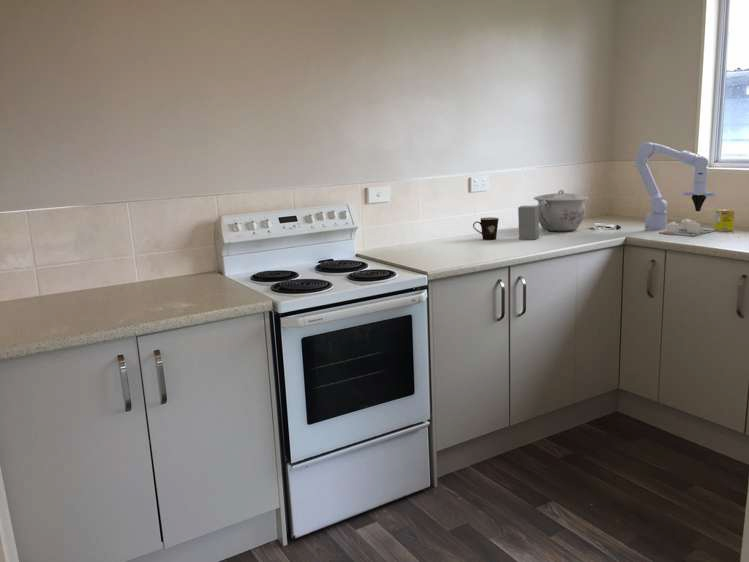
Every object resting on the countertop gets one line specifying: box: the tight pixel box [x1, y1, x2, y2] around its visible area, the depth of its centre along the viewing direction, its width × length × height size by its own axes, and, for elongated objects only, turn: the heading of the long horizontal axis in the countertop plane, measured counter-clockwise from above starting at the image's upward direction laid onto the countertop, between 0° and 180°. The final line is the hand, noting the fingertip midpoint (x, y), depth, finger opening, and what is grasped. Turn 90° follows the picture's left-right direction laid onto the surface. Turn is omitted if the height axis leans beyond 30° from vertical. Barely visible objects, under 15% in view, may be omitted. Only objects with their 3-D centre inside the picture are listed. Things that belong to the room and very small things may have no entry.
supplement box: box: [714, 209, 735, 232], centre depth 315 cm, size 6×6×11 cm
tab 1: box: [665, 221, 680, 234], centre depth 310 cm, size 4×4×5 cm
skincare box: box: [517, 204, 540, 240], centre depth 315 cm, size 8×7×16 cm
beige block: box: [687, 220, 701, 233], centre depth 310 cm, size 4×4×5 cm
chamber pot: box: [533, 189, 590, 233], centre depth 341 cm, size 28×28×21 cm
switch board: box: [658, 227, 718, 238], centre depth 312 cm, size 16×24×2 cm, turn 130°
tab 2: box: [679, 218, 694, 230], centre depth 319 cm, size 4×4×5 cm
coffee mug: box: [472, 216, 500, 241], centre depth 319 cm, size 12×9×10 cm
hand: (697, 211), depth 318 cm, fingers closed
